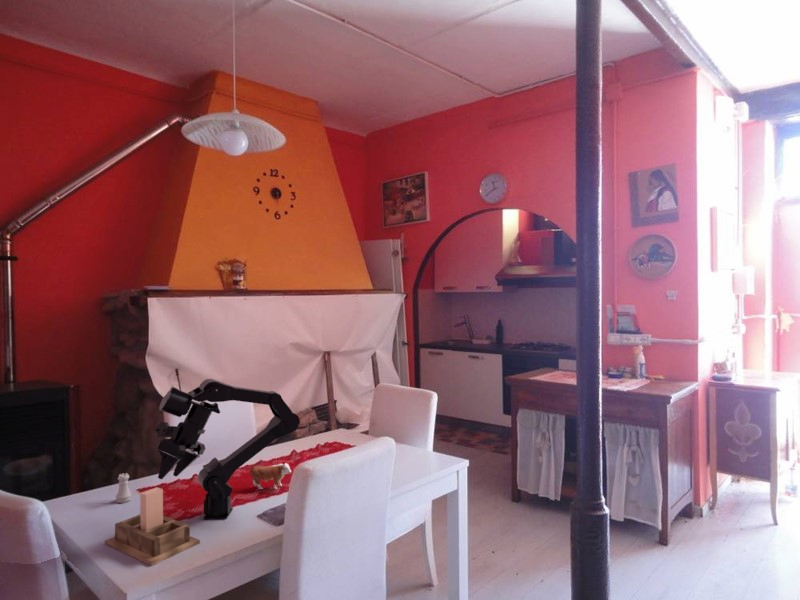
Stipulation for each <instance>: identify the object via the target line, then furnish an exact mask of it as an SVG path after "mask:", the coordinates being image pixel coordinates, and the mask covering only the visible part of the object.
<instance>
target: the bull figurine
mask: <svg viewBox="0 0 800 600" xmlns="http://www.w3.org/2000/svg"><path fill="white" fill-rule="evenodd" d="M249 474H250V477H251V480H252V484H253V486H255V487H256V486H258V487H257V488H258V490H260V489H263V490H264V487H263V486H261V483H260V482H261V479H262V480H263V481H264V482H265V483H267V482H268V481H270V480H273V483H274V485H273V489H274V490H278V487H280V486H282V485H283V484H282V483H281V481H282V480H283V478H285V476H286V475H289V474H292V470H291V467H290V463H286V462H285V463H284V464H283V463H278V464H275V465H274V464H273V465H269V466H266V465H265V466H262V465H261V466H260V465H259V466H254V465H253V466H252V467H251V468H250V470H249ZM277 484H278V487H277ZM282 487H283V486H282Z"/></svg>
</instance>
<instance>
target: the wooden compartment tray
mask: <svg viewBox="0 0 800 600" xmlns="http://www.w3.org/2000/svg"><path fill="white" fill-rule="evenodd" d="M190 533H191V532H190V524H187V523H184V522H181V521H179V520H176V519H174V518H172V517H168V516H165V515H163V524H162V525H159V526H157V527H154V528H152V529H149V530H147V531H142V530H141V520H140V514H137V515H135V516H132V517H129V518H127V519H125V520H122V521H119V522H116V523H114V536H113V537H111V538H109V539H106V540H104V545H106V546H109V547H110V548H113V549H115V550H117V551H118V552H121V551H122V552H121V553H123V552H124V553H123V554H125V553H126V554H125V555H127V554H128V555H127V556H129V555H130V557H131V558H134V559H136V560H138V559H139V561H141V562H142V561H143V563H145V564H146V563H147V565H149V566H151V567H152V566H154V565H156V564H158V563H160V562H163V561H164V560H167V559H170V558H172V557H173V556H175V555H178V554H180V553H182V552H185V551H186V550H188V549H191V548H193V547H194V546H197V545H199V544H200V543H201V540H200V539H198V538H196V537H194V536H190Z"/></svg>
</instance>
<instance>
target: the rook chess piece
mask: <svg viewBox="0 0 800 600" xmlns="http://www.w3.org/2000/svg"><path fill="white" fill-rule="evenodd" d="M129 478H130V475H129V473H127V472H126V473H119V474H118V477H117V480H118V490H117V491H118V492H117V494H116V496H115V502H116V503H118V504H125V503H128V502H130V501H131V500H132V498H133V497H132V492H131V491H130V489H129V482H130V481H129Z"/></svg>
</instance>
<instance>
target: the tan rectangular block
mask: <svg viewBox="0 0 800 600" xmlns="http://www.w3.org/2000/svg"><path fill="white" fill-rule="evenodd" d="M139 494H140V495H139V496H140V497H139V501H140V502H139V504H140V505H139V507H140V509H139V510H140V514H139V515H140V520H141V530H142V531H147V530H149V529H152V528H154V527H157V526H159V525H162V524H163V516H164V490H163V488H160V487H154V488H152V489H151V488H150V489H148V490H145V491H142V492H140V493H139Z"/></svg>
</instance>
